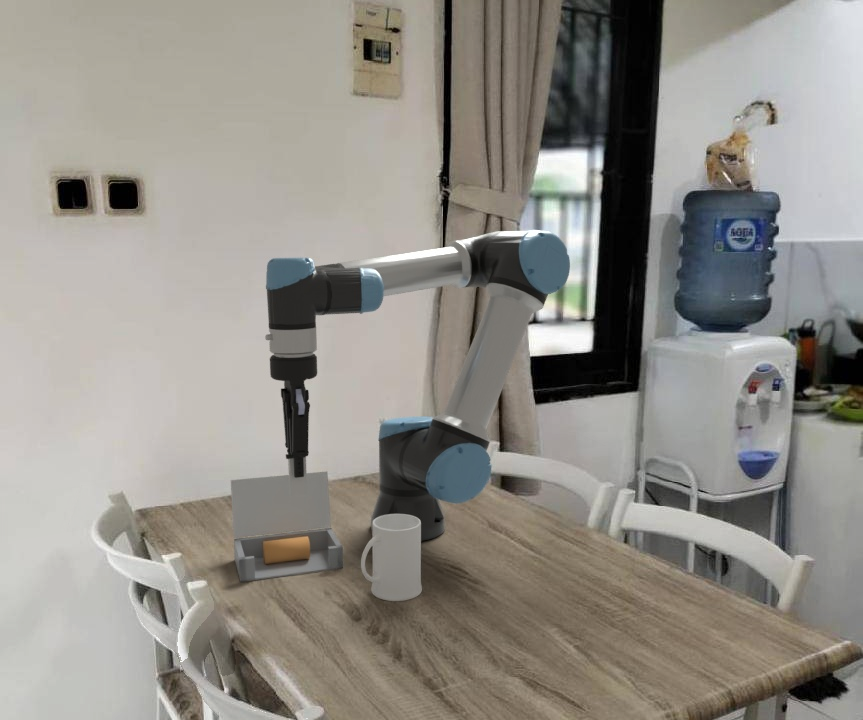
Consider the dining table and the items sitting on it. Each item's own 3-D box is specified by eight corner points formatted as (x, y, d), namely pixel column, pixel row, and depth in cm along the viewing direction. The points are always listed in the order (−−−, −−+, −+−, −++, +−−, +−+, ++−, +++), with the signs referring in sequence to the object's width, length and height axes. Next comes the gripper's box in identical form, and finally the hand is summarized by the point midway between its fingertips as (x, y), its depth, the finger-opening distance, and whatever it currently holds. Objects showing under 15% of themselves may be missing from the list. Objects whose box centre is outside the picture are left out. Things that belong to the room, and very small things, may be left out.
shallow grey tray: (331, 547, 147) (331, 527, 146) (343, 568, 137) (342, 547, 137) (234, 559, 141) (234, 539, 140) (240, 582, 131) (239, 559, 131)
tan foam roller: (305, 548, 144) (306, 531, 142) (309, 563, 140) (310, 546, 138) (262, 553, 141) (262, 536, 139) (265, 568, 138) (265, 551, 136)
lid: (331, 526, 146) (329, 526, 147) (327, 471, 147) (326, 471, 148) (233, 537, 140) (233, 537, 141) (230, 480, 141) (230, 479, 143)
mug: (374, 612, 121) (374, 539, 119) (344, 593, 127) (344, 524, 126) (432, 591, 128) (433, 523, 127) (401, 575, 135) (401, 509, 133)
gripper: (264, 349, 129) (270, 484, 132) (275, 360, 117) (281, 509, 120) (308, 347, 131) (313, 480, 135) (324, 358, 119) (328, 503, 123)
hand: (298, 493), depth 128 cm, fingers closed
